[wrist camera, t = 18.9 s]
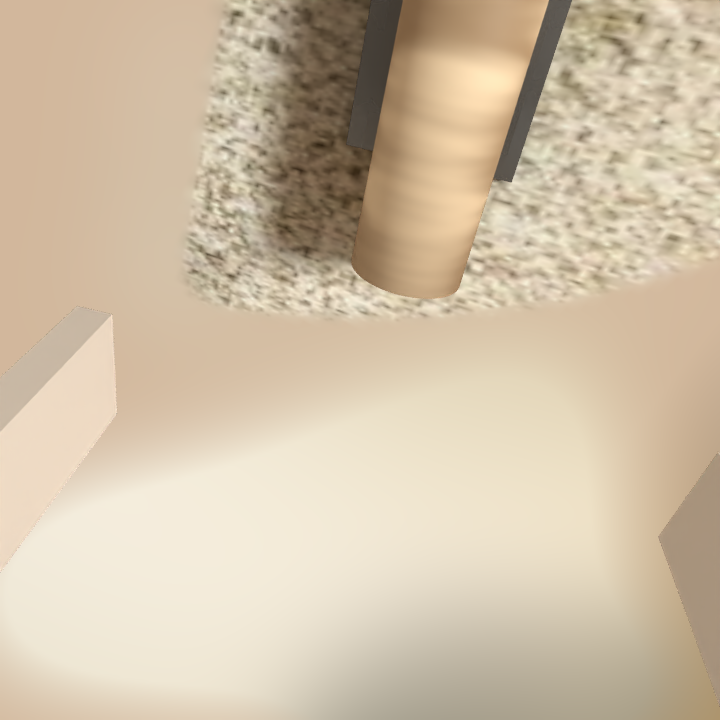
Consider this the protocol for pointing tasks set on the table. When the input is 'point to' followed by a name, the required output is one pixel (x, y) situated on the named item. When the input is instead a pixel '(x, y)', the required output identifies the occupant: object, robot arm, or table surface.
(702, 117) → the table surface
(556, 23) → the cradle
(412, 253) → the axle
